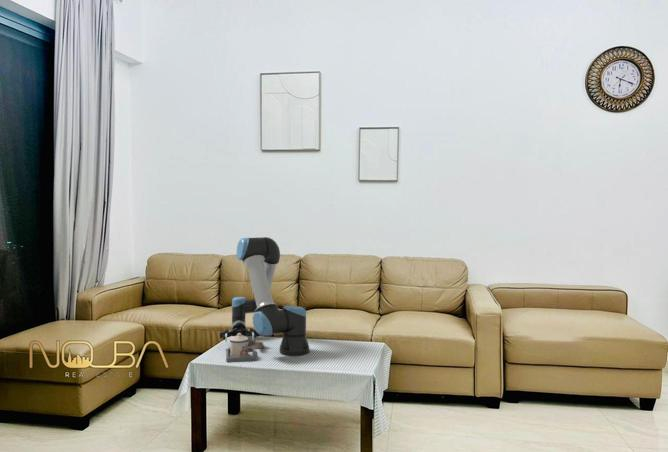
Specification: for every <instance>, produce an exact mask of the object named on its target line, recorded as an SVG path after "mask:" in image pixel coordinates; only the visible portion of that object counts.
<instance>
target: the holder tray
mask: <svg viewBox="0 0 668 452" xmlns="http://www.w3.org/2000/svg"><path fill="white" fill-rule="evenodd" d="M225 349H226V352H225V353H226V356H225V359H226V363H233V362H251V361H253V362H255V361H257V354H256V349H255V348H254V347H251V348H248V353H250V352H252V355H251V356H250V355H248V357H230V356H229V354H230V348H225Z"/></svg>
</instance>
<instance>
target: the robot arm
mask: <svg viewBox="0 0 668 452" xmlns="http://www.w3.org/2000/svg"><path fill="white" fill-rule="evenodd" d="M236 258H237V259H238V260H239V261H242V264H243V266H245V267H246V268H247V272H248V277H249V280H250V285H251V288H252V291H253V292H252V293H253V297H254V298H253V299H246V297H245V296H234V297H233V298H232V300H231V330H230V329H229V328H226V329H225V330H222V331H221V332H220V333H219V339H222V340H223V341H225V343H227V342H228V338H230V337H231V338H232V337H235V336H236V335H237V334H238V333H241V335H243V336H245V337H251V339H252V342H255V338H258V337H260V336H261V337H262V336H271V335H272V336H273V335H279V334H282V338H281V339H282V340H281V342H280V345H279V353H280V354H281V355H285V356H292V357H293V356H294V357H295V356H304V355H307V354H308V353H310V345H309V342H308V339H307V311H306V308H305V307H302V306H298V305H283V307H282V309H279V306H278V304H277V303H275V302H274V298H273V295H272V292H271V287H272V282H273V280H274V275H275V272H276V271H275V270H276V267H277V264H279V262H280V258H281V250H280V247H279V245H278V244H277V241H275V240H274V239H273V238H271V237H266V236H265V237H248V236H247V237H242V238H240V239H239V241H238V242H237V246H236ZM247 314H253V315H252V320H253V321H252V323H253V324H252V325H253V328H254V329H253V328H252V327H251V328H249V329H247V327H246V315H247Z"/></svg>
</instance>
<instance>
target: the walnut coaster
mask: <svg viewBox="0 0 668 452" xmlns="http://www.w3.org/2000/svg"><path fill="white" fill-rule="evenodd" d="M263 343H264V342H263V341H248V348H251V347H254V348H255V350H259V349H261V350H262V349H264V344H263Z"/></svg>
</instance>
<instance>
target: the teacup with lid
mask: <svg viewBox="0 0 668 452" xmlns="http://www.w3.org/2000/svg"><path fill="white" fill-rule="evenodd" d="M249 340H250V339H249V336H243V335H241V333H238V334H237V335H236V336H231V338H230V340H229V341H230V348H229V349H230V353H229V354H230V356H229V358H230V357H249V352H248V342H249Z"/></svg>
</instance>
